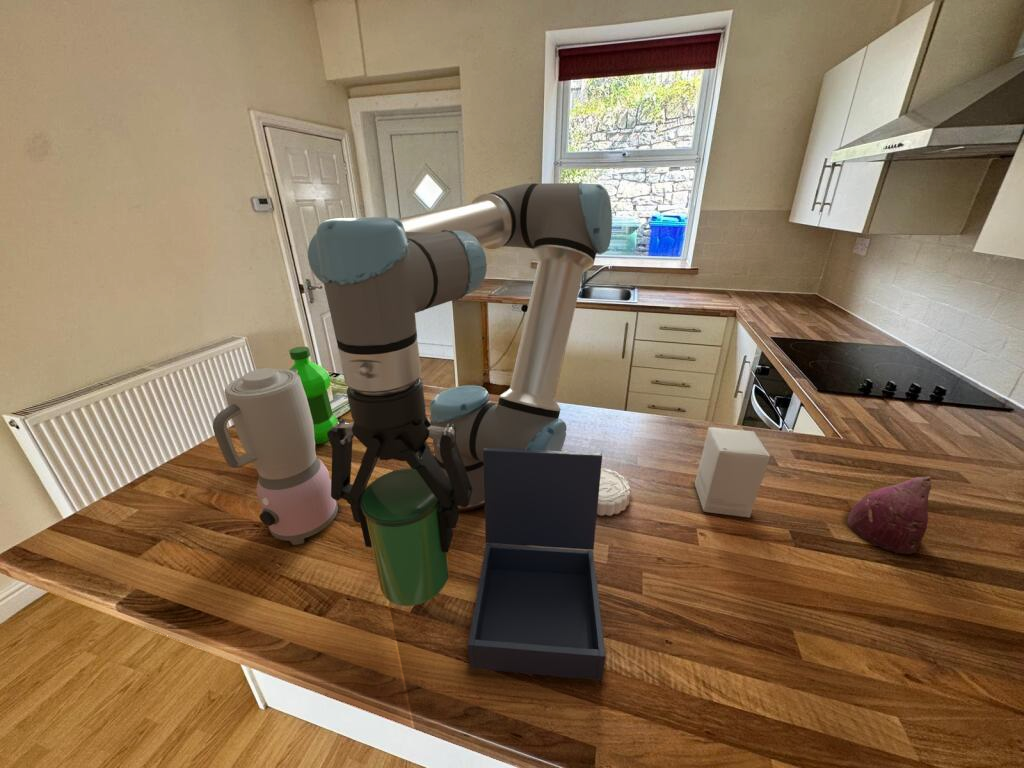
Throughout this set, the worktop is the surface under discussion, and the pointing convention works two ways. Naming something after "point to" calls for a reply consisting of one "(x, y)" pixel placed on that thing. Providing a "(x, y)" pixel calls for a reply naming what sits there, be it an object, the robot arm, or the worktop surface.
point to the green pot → (405, 537)
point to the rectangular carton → (731, 471)
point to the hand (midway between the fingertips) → (409, 540)
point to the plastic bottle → (315, 392)
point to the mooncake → (612, 493)
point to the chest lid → (541, 497)
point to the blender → (278, 451)
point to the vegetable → (893, 515)
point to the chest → (538, 613)
